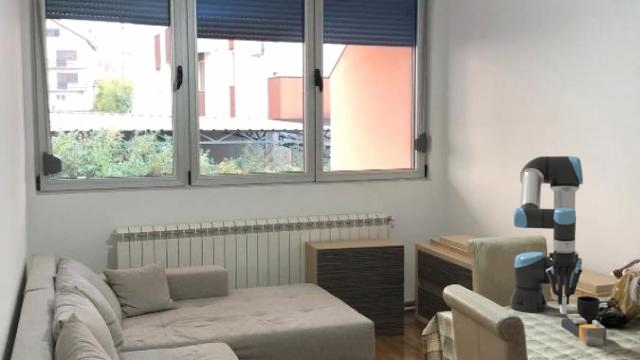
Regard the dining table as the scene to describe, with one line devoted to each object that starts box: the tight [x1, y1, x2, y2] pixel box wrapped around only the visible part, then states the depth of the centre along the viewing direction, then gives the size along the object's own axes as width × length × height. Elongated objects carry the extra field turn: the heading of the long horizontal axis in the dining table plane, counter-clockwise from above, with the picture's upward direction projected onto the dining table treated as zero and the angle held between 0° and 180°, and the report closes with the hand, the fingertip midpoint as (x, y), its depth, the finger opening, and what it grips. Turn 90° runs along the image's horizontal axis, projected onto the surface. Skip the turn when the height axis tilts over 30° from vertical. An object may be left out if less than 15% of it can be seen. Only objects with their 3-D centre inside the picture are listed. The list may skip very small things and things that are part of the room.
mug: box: [576, 295, 611, 325], centre depth 275 cm, size 8×12×10 cm
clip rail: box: [566, 313, 608, 346], centre depth 260 cm, size 22×7×6 cm, turn 179°
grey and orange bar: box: [560, 318, 597, 343], centre depth 262 cm, size 19×5×5 cm, turn 7°
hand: (563, 312), depth 259 cm, fingers closed
